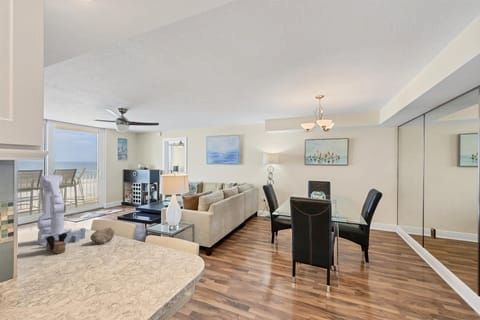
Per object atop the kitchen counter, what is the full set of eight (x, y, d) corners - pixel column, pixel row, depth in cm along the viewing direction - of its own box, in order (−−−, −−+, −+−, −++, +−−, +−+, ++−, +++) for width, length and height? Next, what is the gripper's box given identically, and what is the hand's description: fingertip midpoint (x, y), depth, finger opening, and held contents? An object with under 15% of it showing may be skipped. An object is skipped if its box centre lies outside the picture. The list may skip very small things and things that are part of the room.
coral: (98, 247, 130) (92, 232, 131) (91, 249, 135) (86, 234, 135) (119, 237, 143) (114, 223, 143) (112, 239, 147) (107, 226, 147)
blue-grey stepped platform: (48, 247, 128) (48, 236, 129) (83, 237, 146) (83, 227, 146) (52, 248, 126) (52, 237, 126) (87, 238, 144) (87, 228, 144)
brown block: (46, 249, 124) (46, 241, 124) (53, 247, 127) (53, 239, 127) (57, 253, 118) (58, 244, 118) (65, 251, 121) (65, 242, 121)
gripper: (45, 228, 114) (43, 253, 114) (75, 222, 128) (74, 245, 127) (38, 226, 117) (37, 251, 117) (68, 221, 131) (67, 243, 130)
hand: (56, 247), depth 122 cm, fingers closed on brown block, 3 cm apart
